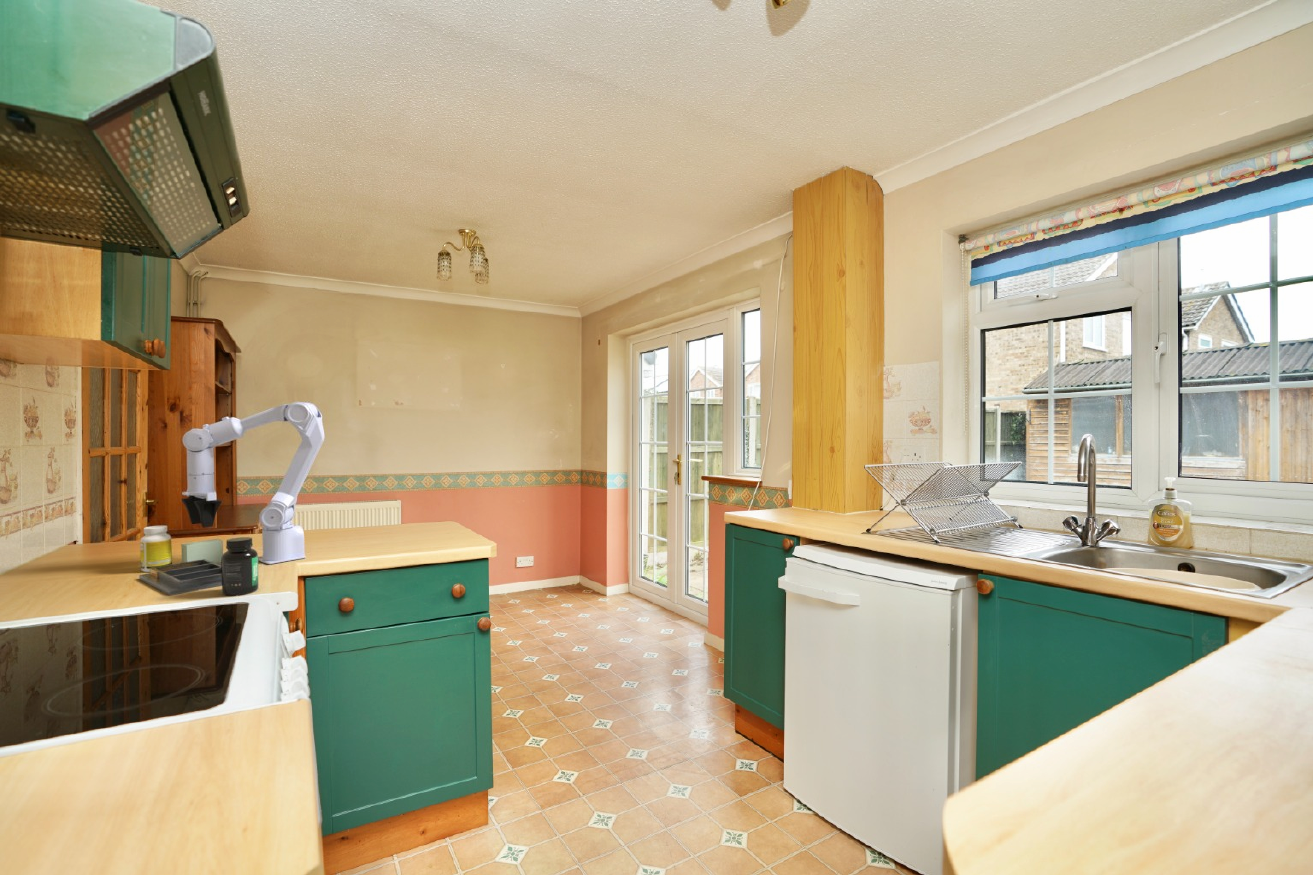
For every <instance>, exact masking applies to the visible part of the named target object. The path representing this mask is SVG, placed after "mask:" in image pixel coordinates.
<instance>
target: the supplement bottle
mask: <svg viewBox="0 0 1313 875" xmlns="http://www.w3.org/2000/svg"><path fill="white" fill-rule="evenodd" d="M225 542H226V546H225V549H227V551H225V552H223V555H222V557H221V563H220V565H221V571H222V586H221V593H222V594H223V595H224V596H229V597H234V596H236V595H238V596H243V595H244V596H245V595H248V594H252V593H255V592H257V591H258V590H259V582H260V581H259V561H258V558H259V554H258V551H257V550H256V549H254V548H252V547H253V546H254V545H253V537H249V536H243V537H242V536H241V537H233V538H228V539H226V541H225Z"/></svg>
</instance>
